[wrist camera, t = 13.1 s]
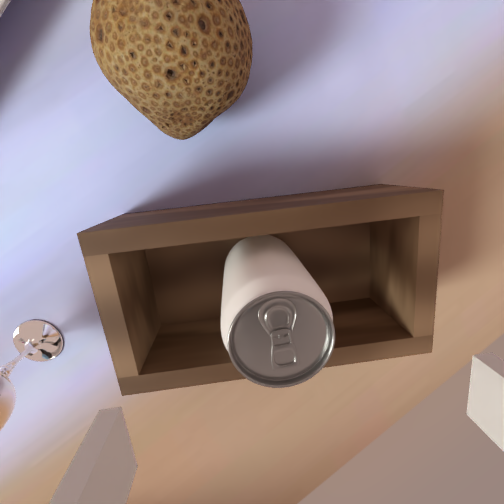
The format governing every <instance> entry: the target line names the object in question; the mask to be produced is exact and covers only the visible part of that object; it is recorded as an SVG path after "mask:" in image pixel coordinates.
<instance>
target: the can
mask: <svg viewBox="0 0 504 504" xmlns="http://www.w3.org/2000/svg"><path fill="white" fill-rule="evenodd" d="M221 335H222V340H223V343H224V345H225V347H226V349H227V351H228V353H229V356H230V359H231V361H232V363H233V365H234V366H235V368H236V369H237V370H238V371H239V372H240V373H241V374H242V375H243V376H244V377H245V378H247V379H248V380H250V381H252V382H254V383H256V384H258V385H262V386H266V387H272V388H283V387H290V386H294V385H297V384H300V383H302V382H305V381H307V380H308V379H310V378H312V377H313V376H314V375H316V374H317V373H318V372H319V371H320V370H321V369H322V368H323V367H324V366H325V364H326V363H327V362H328V360H329V358H330V356H331V354H332V352H333V349H334V344H335V328H334V324H333V316H332V310H331V307H330V304H329V302H328V300H327V298H326V296H325V294H324V293H323V291H322V290H321V289H320V287H319V286H318V284H317V283H316V282H315V280H314V279H313V278H312V276H311V275H310V274H309V272H308V271H307V270H306V268H305V267H304V266H303V264H302V263H301V262H300V260H299V259H298V258H297V257H296V255H295V254H294V253H293V251H292V250H291V249H290V248H289V247H288V246H287V245H286V244H285V243H284V242H283V241H282V240H280V239H278V238H276V237H274V236H271V235H259V236H251V237H247V238H245V239H243V240H241V241H239V242H238V243H237V244H236V245H235V246H234V247H233V248H232V249H231V250H230V252H229V254H228V256H227V258H226V261H225V267H224V277H223V290H222V304H221Z"/></svg>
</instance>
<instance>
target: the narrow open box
mask: <svg viewBox="0 0 504 504" xmlns="http://www.w3.org/2000/svg"><path fill="white" fill-rule="evenodd" d="M443 193H444V190H439V189H428V188H417V187H407V186H396V185H385V184H379V185H370V186H361V187H353V188H344V189H335V190H327V191H318V192H310V193H301V194H292V195H284V196H275V197H267V198H258V199H249V200H241V201H232V202H224V203H215V204H206V205H198V206H189V207H180V208H172V209H163V210H155V211H146V212H137V213H129V214H122V215H120V216H117V217H115V218H113V219H110V220H108V221H105V222H103V223H100V224H98V225H96V226H93V227H91V228H88V229H86V230H83V231H81V232H79V233H77V236H78V239H79V243H80V246H81V250H82V254H83V257H84V261H85V264H86V268H87V272H88V275H89V279H90V282H91V286H92V290H93V293H94V297H95V300H96V304H97V307H98V311H99V315H100V318H101V322H102V325H103V329H104V333H105V336H106V340H107V343H108V347H109V351H110V354H111V358H112V361H113V365H114V368H115V372H116V376H117V379H118V383H119V386H120V390H121V394H122V396H125V395H132V394H139V393H146V392H153V391H160V390H167V389H174V388H182V387H189V386H196V385H203V384H210V383H217V382H224V381H232V380H239V379H246V378H245V377H244V376H243V375H242V374H241V373H240V372H239V371H238V370H237V369H236V368H235V366H234V365H233V363H232V361H231V359H230V356H229V353H228V351H227V349H226V347H225V345H224V343H223V340H222V335H221V304H222V290H223V277H224V267H225V261H226V258H227V256H228V254H229V252H230V250H231V249H232V248H233V247H234V246H235V245H236V244H237V243H238V242H239V241H241V240H243V239H245V238H247V237H251V236H259V235H271V236H274V237H276V238H278V239H280V240H282V241H283V242H284V243H285V244H286V245H287V246H288V247H289V248H290V249H291V250H292V251H293V253H294V254H295V255H296V257H297V258H298V259H299V260H300V262H301V263H302V264H303V266H304V267H305V268H306V270H307V271H308V272H309V274H310V275H311V276H312V278H313V279H314V280H315V282H316V283H317V284H318V286H319V287H320V289H321V290H322V291H323V293H324V294H325V296H326V298H327V300H328V302H329V304H330V307H331V310H332V316H333V324H334V328H335V344H334V349H333V352H332V354H331V356H330V358H329V360H328V362H327V363H326V364H325V366H324V367H331V366H339V365H346V364H353V363H360V362H367V361H374V360H381V359H389V358H396V357H403V356H410V355H417V354H424V353H431V352H432V346H433V332H434V318H435V305H436V291H437V277H438V263H439V249H440V235H441V221H442V207H443ZM324 367H323V368H324Z"/></svg>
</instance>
